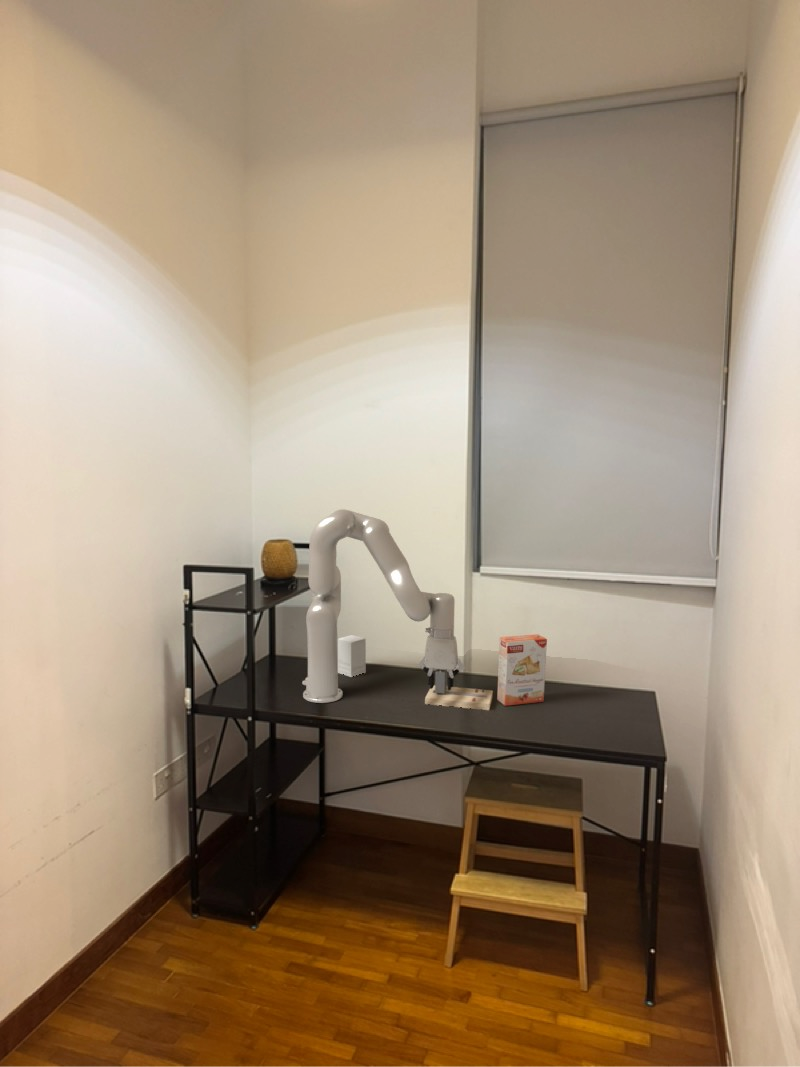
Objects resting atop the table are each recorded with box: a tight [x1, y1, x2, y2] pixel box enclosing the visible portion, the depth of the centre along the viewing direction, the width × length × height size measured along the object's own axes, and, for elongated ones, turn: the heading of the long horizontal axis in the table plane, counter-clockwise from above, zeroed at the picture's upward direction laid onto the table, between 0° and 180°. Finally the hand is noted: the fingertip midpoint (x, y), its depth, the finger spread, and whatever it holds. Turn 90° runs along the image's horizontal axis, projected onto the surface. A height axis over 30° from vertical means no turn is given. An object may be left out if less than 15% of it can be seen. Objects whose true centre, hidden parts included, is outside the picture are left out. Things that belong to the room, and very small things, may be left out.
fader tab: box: [434, 669, 448, 693], centre depth 219 cm, size 3×4×7 cm, turn 167°
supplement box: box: [338, 634, 367, 678], centre depth 243 cm, size 7×7×13 cm
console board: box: [424, 684, 494, 711], centre depth 219 cm, size 20×12×2 cm, turn 77°
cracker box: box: [496, 633, 548, 707], centre depth 217 cm, size 14×6×21 cm, turn 109°
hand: (440, 687), depth 220 cm, fingers open, 5 cm apart
